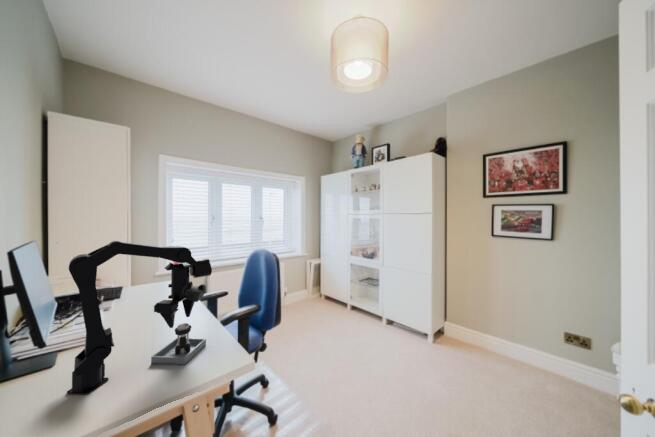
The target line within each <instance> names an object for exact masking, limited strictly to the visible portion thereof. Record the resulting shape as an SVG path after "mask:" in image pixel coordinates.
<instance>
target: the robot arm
mask: <svg viewBox="0 0 655 437" xmlns="http://www.w3.org/2000/svg"><path fill="white" fill-rule="evenodd" d="M117 255H126V256H137V257H148V258H158V259H165V260H167V261H171V262H169V263H168V264H167V265H166V266H164V269H165V270H166V271H171V275H170V276H171V278H170V279H171V280H170V281H171V282H170V284H168V288H170V289H171V290H170V294H169V295H168V299H163V300H160V301H158V302H156V303H155V305H154V306H153V313H156V314H160V315H161V317H162V318H163V320H164V322H165V323H166V324H167V326H168V327H169V329H170V328H171V329H173V328H174V325H175V316H176V313H177V311H179V303H181V302H182V306H183V310H184V315H185V317H186V318H190V316H191V313H192V310H193V308H194V305H195V303H197V302H199V301H200V300H203V298H204V295H205V294H207V286H206V284H204V283H202V284H200V285H196V286H194V285H193V282H192V281H190V277H192V278H194V279H196V278H203V277H209V276H211V275H212V272H213V271H212V270H213V268H212V265H211V261H210V259H209V258H203V259H195V258H194V257H193V256H192V252H191V249H190V248H187V247H184V246H181V245H176V246H175V245H174V246H170V245H169V246H158V245H157V246H156V245H155V246H154V245H145V244H140V243H130V242H122V241H120V240H112V241H111V242H109V243H108V244H106V245H103V246H101V247H99V248H97V249H95V250H93V251H91V252H89V253H82V254H78V255H76V256H74V257H73V258H72V259H71V260H70V261H69V265H68V271H69V273H70V275H71V277H72V280H73V281H74V283H75V285H76V286H77V289H78V293H79V299H80V304H81V305H80V306H81V311H82V316H83V321H84V328H85V339H84V342H85V343H84V349H83V350H81V351H79V353H78V354H77V355H76V356H75V357H74V364H73V365H74V367H73V368H74V370H73V371H72V373H71V388H70V389H68V390H67V391H66V394H68V395H89V394H90V393H92V392H93V391H95V390H96V389H98V388H99V387H100V386H102V385H103V384H104V383H106V382H107V381H109V378H110V377H105V375H106V367H105V365H106V364H105V360H106V358H108V357H109V356H110V354H111V352H112V350H113V349H112V348H113V347H115V343H114V339H113V332H112V328H111V327H108V328H106V329H105V327H104V325H103V321H102V315H101V309H100V304H99V297H98V292H97V286H96V282H97V276H98V275H97V272H98V267H99V266H101V265H102V264H104V263H105V262H107V261H109V260H111V259H112V258H113V257H115V256H117ZM172 262H175V263H174V264H173V263H172ZM185 263H186V265H185Z"/></svg>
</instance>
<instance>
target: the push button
mask: <svg viewBox="0 0 655 437" xmlns="http://www.w3.org/2000/svg"><path fill="white" fill-rule="evenodd" d="M191 330H192V325H191V324H189V323H181V324H177V327H176V328H175V329H174V332H175V333H174V334H175V335H177V337H176V338H177V345H176V348H175V349H174V350H172V351H175V352H171V353H170V354H172V353H175V354H176V355H177V354H184V353H189V352H190V343H189V338H190V337H189V333H190V332H191ZM186 338H187V341H186ZM179 344H180V345H179ZM170 351H171V350H170Z"/></svg>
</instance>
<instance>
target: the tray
mask: <svg viewBox="0 0 655 437" xmlns="http://www.w3.org/2000/svg"><path fill="white" fill-rule="evenodd" d="M186 341H187V337H186ZM189 343H190V352H189V353H184V354H177V355H176V354H175V353H172V354H170V353H171V352H175V351H172V350H174V349H175V348H176V345H177V337H176V338H175V339H173V340H172V341H171V342H169V343H168V344H167V345H165V346H164V347H162V349H160V350H159V351H157V352H155V353H154V354H153V355H152V356H151V357H150V361H151V362H150V364H151V365H163V366H164V365H167V366H169V365H171V366H185V365H187V364H188V363H189V362H190V360H192V359H193V358H195V356H196V355H197V354H198V353H199V352H201V350H203V348H204V347H206V346H207V338H193V337H192V338H190V337H189ZM179 345H180V344H179ZM170 350H171V351H170Z"/></svg>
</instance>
